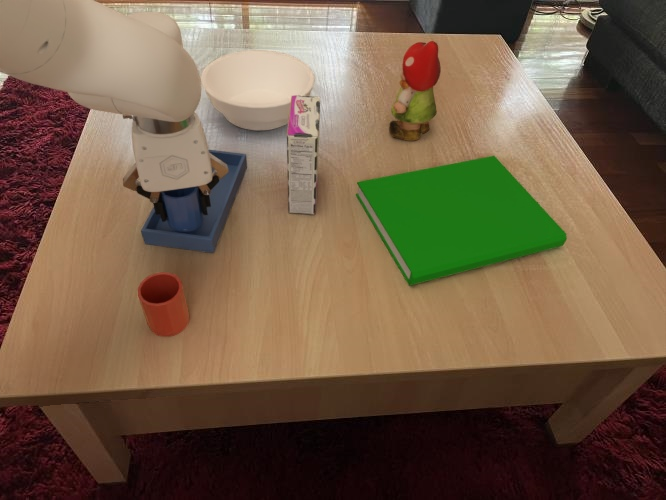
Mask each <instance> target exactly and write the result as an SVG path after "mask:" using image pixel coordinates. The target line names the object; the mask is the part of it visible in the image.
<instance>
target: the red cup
mask: <svg viewBox="0 0 666 500" xmlns="http://www.w3.org/2000/svg"><path fill="white" fill-rule="evenodd" d="M136 291H137V298H138V301H139V304H140V306H141V309H142V312H143V315H144V318H145V322H146V324H147V327H148V328H149V330H150V332H152V334H154V335H156V336H159V337H165V338H168V337H172V336H176V335H179V334H181V332H183V331H184V330H185V329H186V328H187V326H188V324H189V322H190V311H189V307H188V302H187V298H186V294H185V290H184V286H183V282H182V280H181V279H180V278H179V276H177V275H176V274H174V273H173V272H167V271H166V272H165V271H161V272H155V273H152V274H150V275H148V276H146V277H145V278H144V279H143V280H141V282H140V283H139V285H138V287H137V290H136Z"/></svg>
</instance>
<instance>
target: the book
mask: <svg viewBox="0 0 666 500" xmlns="http://www.w3.org/2000/svg"><path fill="white" fill-rule="evenodd" d="M356 184H357V186H358V192H356V193H355V197H356V198H357V200H358V201H359V203H360V205H361V206H362V208H363V210H364V212H365V213H366V215H367V217H368V219H369V220H370V222H371V224H372V225H373V227H374V228H375V230H376V232H377V234H378V236H379V238H380V239H381V240H382V242H383V244H384V245H385V247H386V249H387V251H388V253H389V254H390V256H391V257H392V259H393V260H394V262H395V265H396V266H397V268H398V269H399V271H400V273H401V274H402V276H403V278H404V280H405V281H406V283H407V285H408V286H412V285H416V284H421V283H425V282H428V281H432V280H435V279H440V278H444V277H448V276H451V275H455V274H459V273H463V272H466V271H467V272H468V271H470V270H474V269H475V270H476V269H478V268H483V267H487V266H490V265H494V264H498V263H501V262H505V261H509V260H510V261H511V260H514V259H517V258H522V257H525V256H529V255H532V254H536V253H540V252H541V253H542V252H544V251H547V250H548V251H549V250H551V249H555V248H556V249H557V248H560V247H563V246H564V245H565V243H566V241H567V239H568V238H567V237H568V236H567V232H566V231H565V230H564V229H563V228H562V227H561V226H560V225H559V224H558V223H557V222H556V221H555V220H554V218H552V217H551V216H550V214H549V212H547V211H546V210H545V209H544V208H543V207H542V205H540V203H539V202H538V201H537V200H536V198H534V197H533V196H532V195H531V194H530V193H529V191H528V190H527V189H526V187H524V186H523V185H522V184H521V182H520V181H518V179H517V178H516V177H515V176H514V175H513V174H512V173H511V172H510V171H509V170H508V169H507V167H506V166H505V165H504V164H503V163H502V161H500V160H499V159H498V158H497V157H496V155H490V156H485V157H480V158H473V159H470V160H464V161H459V162H453V163H449V164H444V165H438V166H433V167H428V168H423V169H417V170H412V171H407V172H402V173H397V174H392V175H385V176H380V177H376V178H375V177H374V178H371V179H364V180H360V181H357V182H356Z"/></svg>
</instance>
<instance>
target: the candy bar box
mask: <svg viewBox="0 0 666 500" xmlns="http://www.w3.org/2000/svg"><path fill="white" fill-rule="evenodd" d="M320 122H321V97H320V96H310V95H309V96H299V95H295V96H292V97H291V105H290V114H289V121H288V123H287V128H286V129H287V130H286V149H287V150H286V156H287V157H286V163H287V166H286V167H287V204H288V205H287V207H288V208H287V210H288V214H293V215H311V216H312V215H313V216H314V215H316V211H317V210H316V209H317V199H318V182H319V181H318V179H319V177H318V175H319V152H320V151H319V147H320V126H321V125H320Z"/></svg>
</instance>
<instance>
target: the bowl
mask: <svg viewBox="0 0 666 500" xmlns="http://www.w3.org/2000/svg"><path fill="white" fill-rule="evenodd" d="M200 78H201V87H202V88H203V90H204V92H205V94H206V96H207V97H208V100H209V101H210V104H211V105H212V106H213V108H214V109H216V111H218V112H219V113H220V114H222V115H223V116H224V118H225V119H226V120H227V121H228V123H230V124H231V125H234V126H236V127H238V128H240V129H245V130H249V131H270V130H271V131H272V130H275V129H278V128H281V127H284V126H285V125H288V121H289V114H290V105H291V97H292V96H295V95H299V96H309V97H310V95H311V93H312V91H313V88H314V86H315V82H316V80H315V79H316V78H315V74H314V71H313V70H312V68H311V67H310V66H309V65H308V64H307V63H306V62H304V60H302V59H300V58H298V57H295V56H294V55H291V54H287V53H284V52H279V51H276V50H266V49H250V50H249V49H247V50H241V51H235V52H230V53H227V54H224V55H222V56H220V57H217V58H216V59H214V60H212V61H210V62H209V63H208V64H207V65H206V66H205V67H204V69H203V70H202V72H201V74H200Z"/></svg>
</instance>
